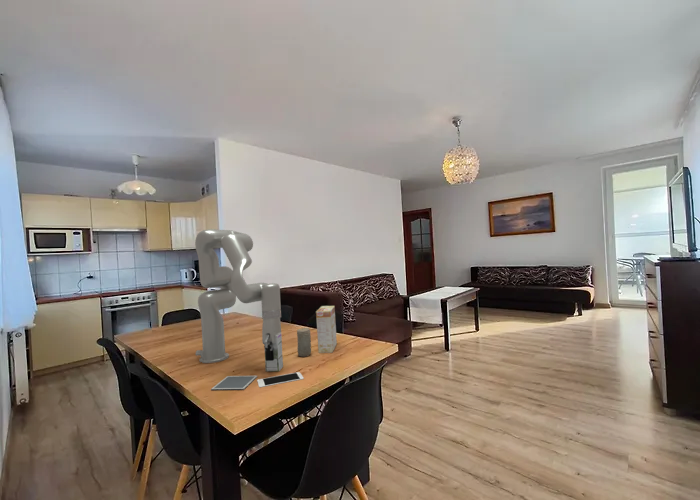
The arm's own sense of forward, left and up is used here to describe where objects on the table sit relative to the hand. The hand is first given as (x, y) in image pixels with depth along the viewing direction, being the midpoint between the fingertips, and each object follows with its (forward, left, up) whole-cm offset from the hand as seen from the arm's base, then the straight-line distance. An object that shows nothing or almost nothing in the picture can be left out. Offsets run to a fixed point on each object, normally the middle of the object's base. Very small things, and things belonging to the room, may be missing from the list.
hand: (273, 356), depth 133 cm
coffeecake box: (+17, +28, -5) cm, 33 cm away
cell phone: (+6, -11, -6) cm, 14 cm away
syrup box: (0, 0, -5) cm, 5 cm away
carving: (+8, +18, -5) cm, 20 cm away
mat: (-10, -14, -5) cm, 18 cm away
